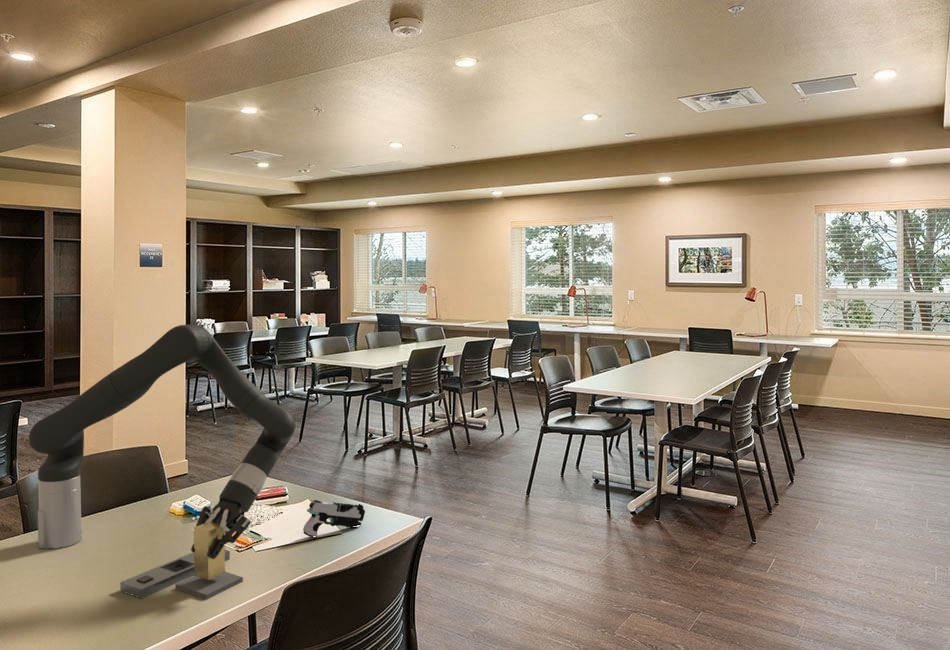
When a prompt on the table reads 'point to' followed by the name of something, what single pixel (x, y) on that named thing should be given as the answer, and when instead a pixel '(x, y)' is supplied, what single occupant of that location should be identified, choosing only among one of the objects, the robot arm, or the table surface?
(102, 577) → the table surface
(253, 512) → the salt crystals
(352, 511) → the toy gun
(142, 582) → the rail
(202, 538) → the brass block
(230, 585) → the mat
